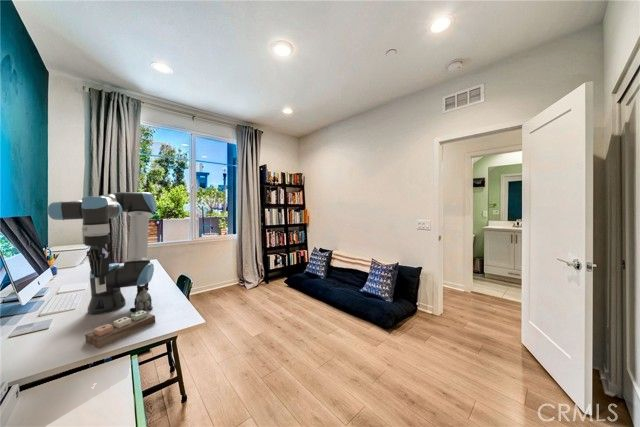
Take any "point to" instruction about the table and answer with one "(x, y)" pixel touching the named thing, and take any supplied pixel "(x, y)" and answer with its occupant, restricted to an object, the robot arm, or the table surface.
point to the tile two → (122, 322)
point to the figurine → (142, 299)
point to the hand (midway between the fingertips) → (101, 291)
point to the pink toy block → (103, 330)
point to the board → (119, 332)
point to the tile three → (138, 315)
